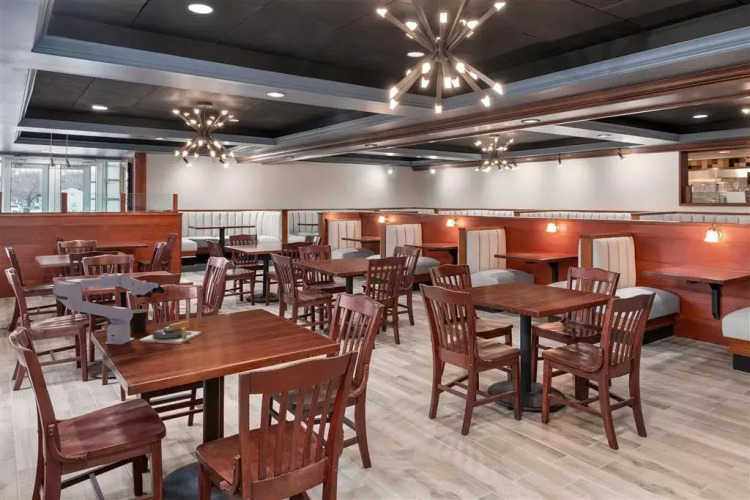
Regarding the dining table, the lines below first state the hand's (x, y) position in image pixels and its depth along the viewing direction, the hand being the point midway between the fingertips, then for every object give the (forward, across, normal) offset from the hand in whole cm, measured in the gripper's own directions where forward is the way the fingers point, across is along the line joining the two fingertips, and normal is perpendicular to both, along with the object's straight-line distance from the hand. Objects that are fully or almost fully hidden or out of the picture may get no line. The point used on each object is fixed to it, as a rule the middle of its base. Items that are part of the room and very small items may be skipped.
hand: (157, 293), depth 256 cm
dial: (+1, -9, +22) cm, 24 cm away
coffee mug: (+4, +14, +15) cm, 21 cm away
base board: (+1, -9, +24) cm, 25 cm away
